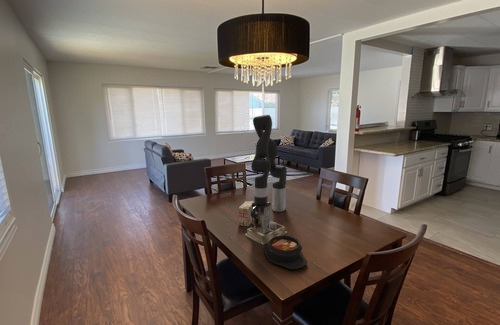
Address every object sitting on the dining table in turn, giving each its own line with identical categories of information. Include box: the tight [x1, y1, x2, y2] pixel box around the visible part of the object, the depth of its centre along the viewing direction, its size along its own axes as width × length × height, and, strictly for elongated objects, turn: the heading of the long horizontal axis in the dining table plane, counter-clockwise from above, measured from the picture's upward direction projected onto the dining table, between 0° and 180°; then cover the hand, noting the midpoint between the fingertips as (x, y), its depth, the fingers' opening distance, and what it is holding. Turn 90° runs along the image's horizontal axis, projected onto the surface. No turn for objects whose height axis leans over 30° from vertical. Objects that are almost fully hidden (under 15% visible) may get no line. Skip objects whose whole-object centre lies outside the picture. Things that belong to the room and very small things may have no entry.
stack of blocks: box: [238, 200, 254, 228], centre depth 170 cm, size 21×6×12 cm, turn 161°
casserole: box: [263, 234, 308, 270], centre depth 126 cm, size 25×19×8 cm
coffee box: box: [251, 202, 271, 234], centre depth 145 cm, size 9×6×16 cm
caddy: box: [244, 219, 288, 246], centre depth 150 cm, size 20×15×5 cm
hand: (260, 222), depth 146 cm, fingers closed on coffee box, 6 cm apart
